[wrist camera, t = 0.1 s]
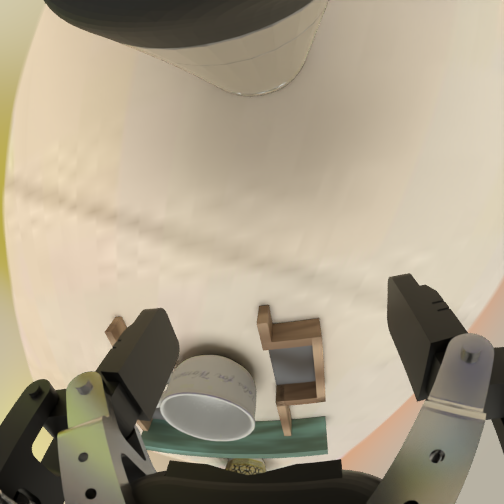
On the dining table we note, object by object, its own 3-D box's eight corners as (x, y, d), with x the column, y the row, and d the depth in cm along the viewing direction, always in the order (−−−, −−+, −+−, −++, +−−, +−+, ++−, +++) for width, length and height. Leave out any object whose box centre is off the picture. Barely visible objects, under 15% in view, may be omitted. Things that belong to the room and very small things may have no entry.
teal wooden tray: (87, 318, 34) (64, 346, 29) (317, 299, 30) (323, 337, 24) (151, 422, 44) (141, 448, 38) (325, 421, 39) (327, 453, 33)
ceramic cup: (283, 459, 45) (281, 504, 36) (255, 473, 49) (251, 513, 40) (221, 439, 43) (211, 488, 34) (198, 455, 47) (188, 497, 38)
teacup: (273, 359, 34) (269, 413, 27) (244, 406, 38) (237, 452, 31) (160, 320, 33) (134, 368, 26) (150, 374, 38) (130, 417, 30)
